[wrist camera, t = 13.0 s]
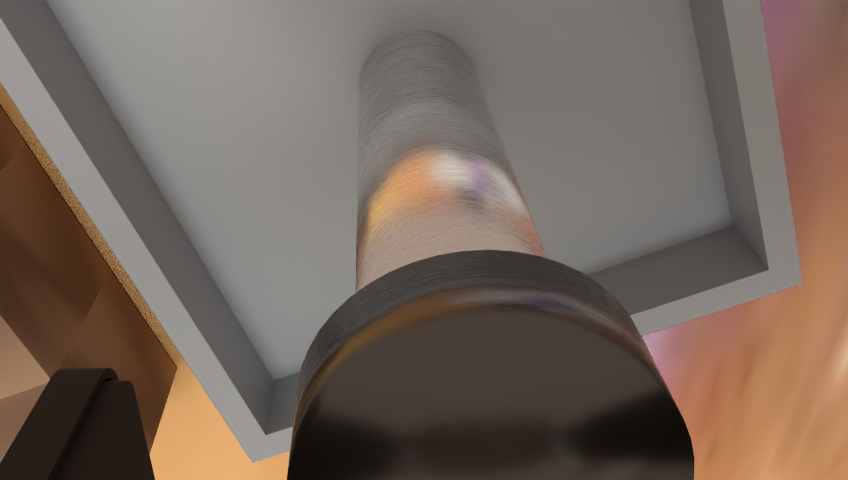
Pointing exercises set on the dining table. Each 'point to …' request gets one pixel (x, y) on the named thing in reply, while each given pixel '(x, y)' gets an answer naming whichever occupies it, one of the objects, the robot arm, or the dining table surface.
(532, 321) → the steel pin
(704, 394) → the dining table surface
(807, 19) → the dining table surface
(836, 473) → the dining table surface
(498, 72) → the grey tray
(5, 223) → the walnut block
